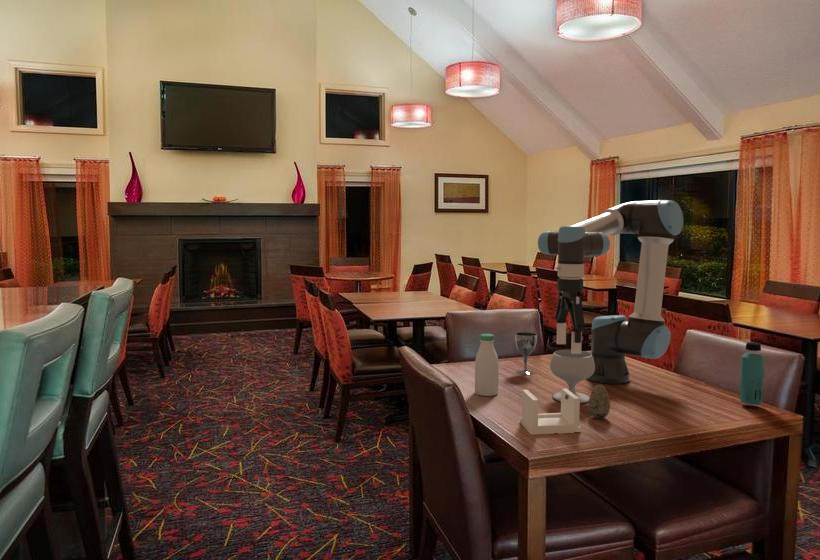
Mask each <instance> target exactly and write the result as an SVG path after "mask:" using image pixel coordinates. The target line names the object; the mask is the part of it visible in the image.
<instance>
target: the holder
mask: <svg viewBox="0 0 820 560" xmlns="http://www.w3.org/2000/svg"><path fill="white" fill-rule="evenodd" d="M560 390H561V391H560V392H561V401H560V412H552V413H551V412H550V413H548V412H547V413H546V412H545V413H539V404H540V403H539V399H538V398H537V397H536V395H534V394H533V393H531V391H530V390H529V389H522V391H521V393H522V394H521V397H522V398H521V416H520V417H519V423H520V424H521V425H522V427H523V428H524V429H525V430H526V431H527V432H528V434H530V435H532V436H533V435H555V434H554V433H558V434H575V433H574V432H581V433H582V431H581V430H582V427H581V426H580V407H581V406H580V404H581V403H580V398H578V397H577V396H576V395H574V394H573V393H572V392H570V391H569V388H564V387H563V388H561V389H560Z"/></svg>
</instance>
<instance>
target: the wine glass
mask: <svg viewBox="0 0 820 560" xmlns="http://www.w3.org/2000/svg"><path fill="white" fill-rule="evenodd" d="M514 337H515V338H514V339H515V345H516V348H517V350H518V351H519V352H520V354H521V355H522V357H523V360H524V361H523V362H524V363H523V364H524V366H523V367H524V368H523V369H520V370H516V371H517V372H515V373H516V374H517V375H520V374H521V375H523V376H531V375H535V374H536V372H535V371H532V370H528V369H527V368H528V367H527V366H528V365H527V364H528V363H527V362H528V358H529V356H530V355H531V354H532V352H533V351H535V349H536V346H537V338H538V335H537V333H536V332H531V331H518V332H515V336H514Z"/></svg>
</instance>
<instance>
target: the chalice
mask: <svg viewBox="0 0 820 560" xmlns="http://www.w3.org/2000/svg"><path fill="white" fill-rule="evenodd" d="M549 368H550V371H551V373H552V374H553V375H555V376H556V377H557V378H559V379H561V380H563V381H564V383H566V384H567V386H568V390H569V391H570V392H572V393H573V394H574V395H576V396H577V397H578V398H580V404H586V403H589V399H590V396H589V395H588V394H585V393H583V392H582V393H581V392H577V391H575V389H576V386H577V384H579V383H580V382H582V381H584V380H588V379H587V378H589V377H590V376H592V375H593V373H594V371H595V363H594V359H593V357H592V355H591V352H589V351H585V350H581V354H571V349H559V350H556V351H554V352H553V353H552V356H551V359H550V363H549ZM552 399H554V400H556V401H558V402H561V391H560V392H559V391H558V392H556V393H554V394H552Z"/></svg>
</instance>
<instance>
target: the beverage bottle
mask: <svg viewBox="0 0 820 560" xmlns="http://www.w3.org/2000/svg"><path fill="white" fill-rule="evenodd" d="M745 350H746V351H752V352H745V353H743V354H742V355H741V360H740V361H741V362H740V363H741V364H740V365H741V366H740V378H739V388H738V389H739V390H738V392H739V394H738V395H739V396H738V397H739V398H738V399H739V401H740V402H741V403H743V404H746V405H754V406H757V405H762V404H763V402H764V388H765V387H764V378H765V377H764V376H765V357H764V356H763V355H762V354H761V353H758V352H760V351H761V350H762V345H761V343H759V342H752V341H751V342H750V341H749V342H746V344H745Z"/></svg>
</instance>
